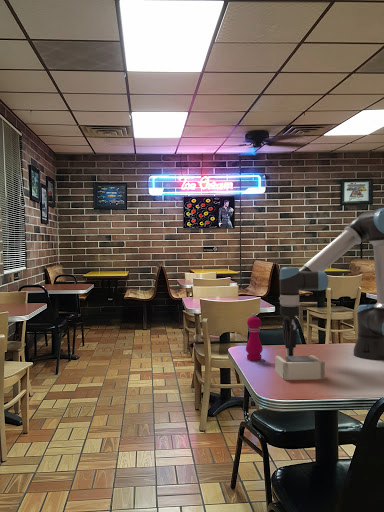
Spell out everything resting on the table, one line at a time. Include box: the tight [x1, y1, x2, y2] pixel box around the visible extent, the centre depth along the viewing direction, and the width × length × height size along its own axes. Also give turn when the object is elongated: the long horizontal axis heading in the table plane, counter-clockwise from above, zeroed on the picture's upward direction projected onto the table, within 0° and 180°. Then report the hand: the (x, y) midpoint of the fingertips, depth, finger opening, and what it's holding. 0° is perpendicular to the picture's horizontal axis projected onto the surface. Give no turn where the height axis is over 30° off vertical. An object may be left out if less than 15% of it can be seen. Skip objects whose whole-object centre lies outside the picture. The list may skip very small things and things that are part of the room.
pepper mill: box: [245, 312, 263, 362], centre depth 184 cm, size 7×7×20 cm
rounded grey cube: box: [285, 355, 314, 362], centre depth 157 cm, size 8×7×7 cm
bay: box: [274, 354, 326, 381], centre depth 158 cm, size 15×12×6 cm
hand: (289, 363), depth 170 cm, fingers closed
